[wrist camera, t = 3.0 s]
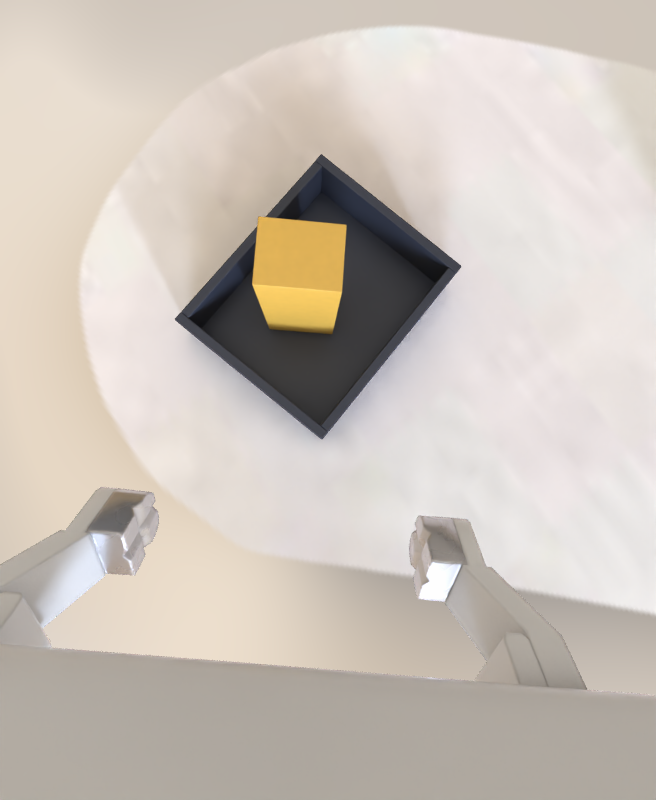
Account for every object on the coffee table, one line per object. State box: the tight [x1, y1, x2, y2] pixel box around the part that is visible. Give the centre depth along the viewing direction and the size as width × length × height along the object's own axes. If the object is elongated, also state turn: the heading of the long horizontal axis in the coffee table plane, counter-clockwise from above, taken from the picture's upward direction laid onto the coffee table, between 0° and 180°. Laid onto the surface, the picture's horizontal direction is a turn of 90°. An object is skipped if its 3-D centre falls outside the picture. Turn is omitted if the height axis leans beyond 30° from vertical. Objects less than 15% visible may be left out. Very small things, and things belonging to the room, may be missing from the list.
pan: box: [175, 154, 461, 439], centre depth 29 cm, size 16×13×4 cm
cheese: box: [252, 217, 347, 334], centre depth 25 cm, size 5×4×9 cm
